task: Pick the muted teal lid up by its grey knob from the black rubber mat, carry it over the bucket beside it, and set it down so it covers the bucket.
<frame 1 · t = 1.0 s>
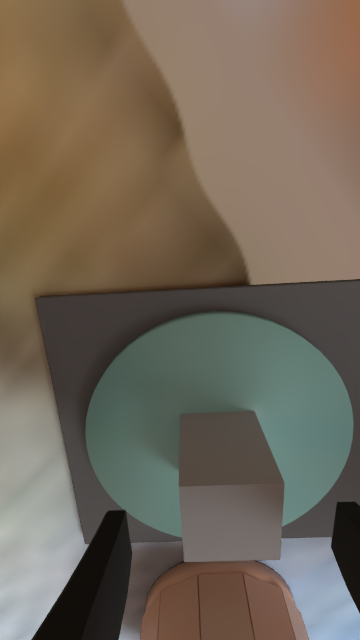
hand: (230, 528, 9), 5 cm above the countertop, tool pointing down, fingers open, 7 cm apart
mat: (214, 426, 15), on the countertop
bucket: (219, 608, 18), on the countertop
lid: (222, 469, 12), on the mat
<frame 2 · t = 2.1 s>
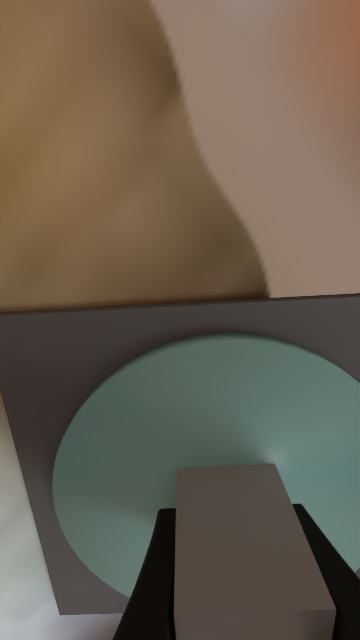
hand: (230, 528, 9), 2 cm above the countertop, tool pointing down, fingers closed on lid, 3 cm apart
mat: (221, 475, 11), on the countertop
lid: (234, 550, 9), on the mat, touching gripper
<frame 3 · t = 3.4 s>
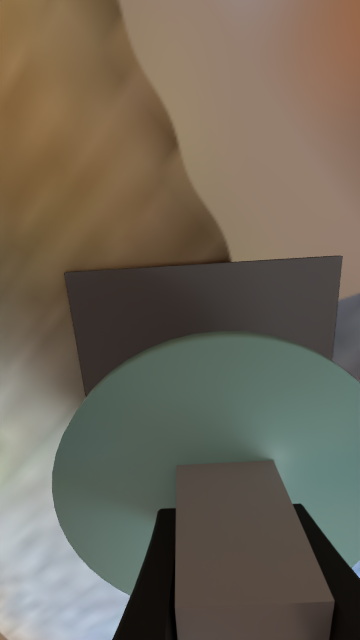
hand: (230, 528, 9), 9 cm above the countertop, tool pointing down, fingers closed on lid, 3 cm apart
mat: (205, 378, 18), on the countertop
lid: (233, 545, 9), point 10 cm above the countertop, touching gripper
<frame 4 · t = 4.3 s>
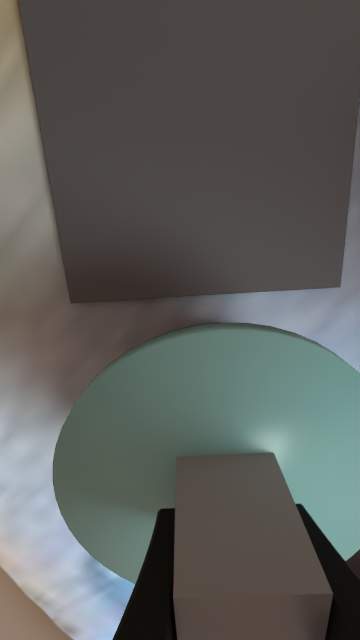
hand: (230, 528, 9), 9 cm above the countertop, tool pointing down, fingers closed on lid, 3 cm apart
mat: (198, 155, 15), on the countertop
lid: (232, 536, 9), point 10 cm above the countertop, touching gripper
when the fingers open (8 cm above the countertop, at t = 5.1 s): lid stays where it is, resting on bucket.
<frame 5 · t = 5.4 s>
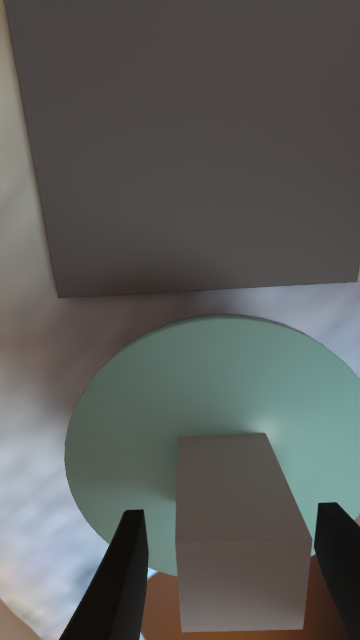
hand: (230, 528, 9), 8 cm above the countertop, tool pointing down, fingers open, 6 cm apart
mat: (200, 132, 13), on the countertop
lid: (228, 506, 10), on the bucket, point 7 cm above the countertop
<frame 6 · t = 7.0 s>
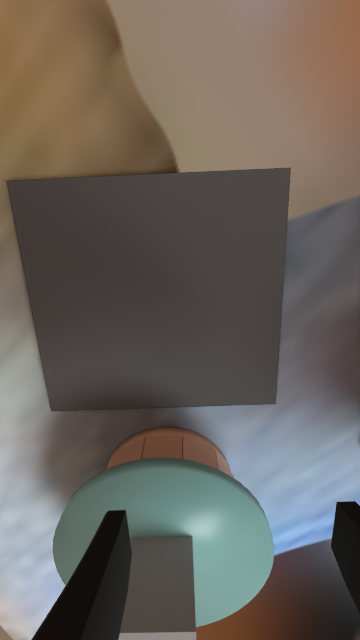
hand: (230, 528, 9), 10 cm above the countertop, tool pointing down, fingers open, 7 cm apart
mat: (156, 303, 18), on the countertop
bucket: (168, 480, 22), on the countertop
lid: (161, 591, 15), on the bucket, point 7 cm above the countertop
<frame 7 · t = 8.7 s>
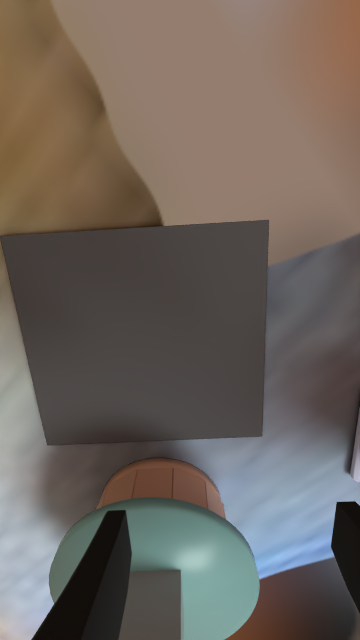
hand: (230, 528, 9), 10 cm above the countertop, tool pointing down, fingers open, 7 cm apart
mat: (145, 343, 19), on the countertop
bucket: (161, 507, 23), on the countertop
lid: (151, 625, 15), on the bucket, point 7 cm above the countertop
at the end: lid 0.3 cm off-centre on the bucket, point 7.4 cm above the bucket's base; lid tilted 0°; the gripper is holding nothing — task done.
